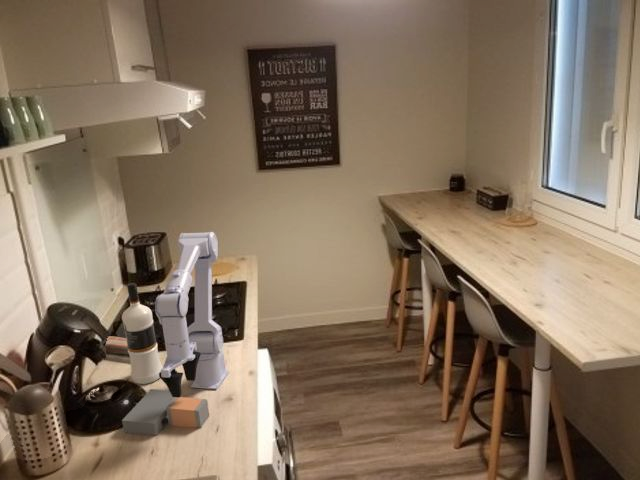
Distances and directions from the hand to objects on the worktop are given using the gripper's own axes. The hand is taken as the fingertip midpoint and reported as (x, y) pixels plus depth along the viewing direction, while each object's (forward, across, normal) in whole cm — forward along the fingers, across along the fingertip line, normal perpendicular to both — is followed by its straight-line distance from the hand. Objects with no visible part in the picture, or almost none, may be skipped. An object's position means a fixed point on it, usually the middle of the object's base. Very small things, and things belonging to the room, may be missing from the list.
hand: (184, 388), depth 133 cm
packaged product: (+10, +30, +39) cm, 50 cm away
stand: (+10, 0, +10) cm, 14 cm away
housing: (+10, 0, 0) cm, 10 cm away
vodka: (+9, +18, +23) cm, 30 cm away
